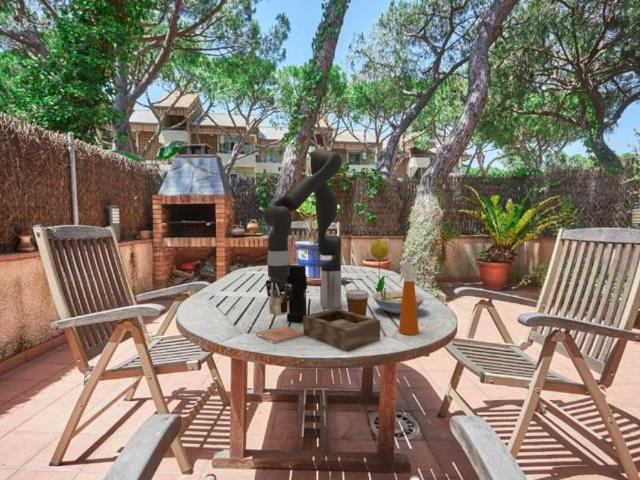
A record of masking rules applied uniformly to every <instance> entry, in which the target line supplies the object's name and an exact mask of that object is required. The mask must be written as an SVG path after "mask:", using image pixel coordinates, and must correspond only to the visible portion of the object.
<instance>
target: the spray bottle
mask: <svg viewBox="0 0 640 480" xmlns="http://www.w3.org/2000/svg"><path fill="white" fill-rule="evenodd" d="M399 266H400V274H399V277H398V281H397V282H396V283H397V285H399V284H401V282H402V280H403V285H402V289H403V290H402V291H403V295H402V305H401V314H399V325H398V326H399V327H398V333H400V334H401V333H402V335H406V336H415V335H418V334H419V333H420V331H419V320H418V310H417V309H418V308H417V307H416V296H415V292H416V290H415V289H416V285H415V275H414V272H415V270H416V267H415V266H414V265H413V264H411V263H410V262H407V261H402V260H401V261H399Z"/></svg>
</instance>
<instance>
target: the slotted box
mask: <svg viewBox="0 0 640 480" xmlns="http://www.w3.org/2000/svg"><path fill="white" fill-rule="evenodd" d="M302 324H303V327H302V328H303V330H302V331H303V332H302V333H303V336H307V337H309V338H310V339H314V340H316V341H318V342H320V343H323V342H324V344H326V343H327V345H329V344H330V345H329V346H331V345H332V347H334V346H335V347H334V348H336V347H337V348H336V349H339V348H340V349H339V350H341V349H342V351H344V350H345V351H344V352H346V351H348V352H350V350H351V351H353V350H356V349H358V348H361V346H362V347H364V346H367V345H370V344H372V343H374V342H375V343H376V342H378V341H380V340H381V320H380V319H376V318H373V317H370V316H367V315H366V316H363V315H359V314H356V313H352V312H348V310H345V309H341V308H334V309H327V310H323V311H317V312H314V313H310V314H307V315H305V316H303V322H302ZM369 343H370V344H369Z"/></svg>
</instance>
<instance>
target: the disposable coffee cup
mask: <svg viewBox="0 0 640 480" xmlns="http://www.w3.org/2000/svg"><path fill="white" fill-rule="evenodd" d="M345 298H346V304H347V311H348V312H352V313H356V314H359V315H363V316H366V317H367V309H368V300H369V298H370V294H369V291H368V290H366V289H349V290H347V291H346V292H345Z"/></svg>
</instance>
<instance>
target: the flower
mask: <svg viewBox="0 0 640 480" xmlns="http://www.w3.org/2000/svg"><path fill="white" fill-rule="evenodd" d="M389 252H390V251H389V246H388V241H387V240H385V241H383V240H380V239H379V240H375V239H374V240H372V241H371V244H370V254H371V256H373V257H374V258H375V259H377V260H378V282H377V287H376V286H375V285H373V287H374V289H375V291H376V292H380V291H381V288H382V291H384V288H385V278H386V275H383V276H382V277H381V275H380V274H381V271H380V270H381V260H384V259H385V258H386V257H387V256H388V254H389Z"/></svg>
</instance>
